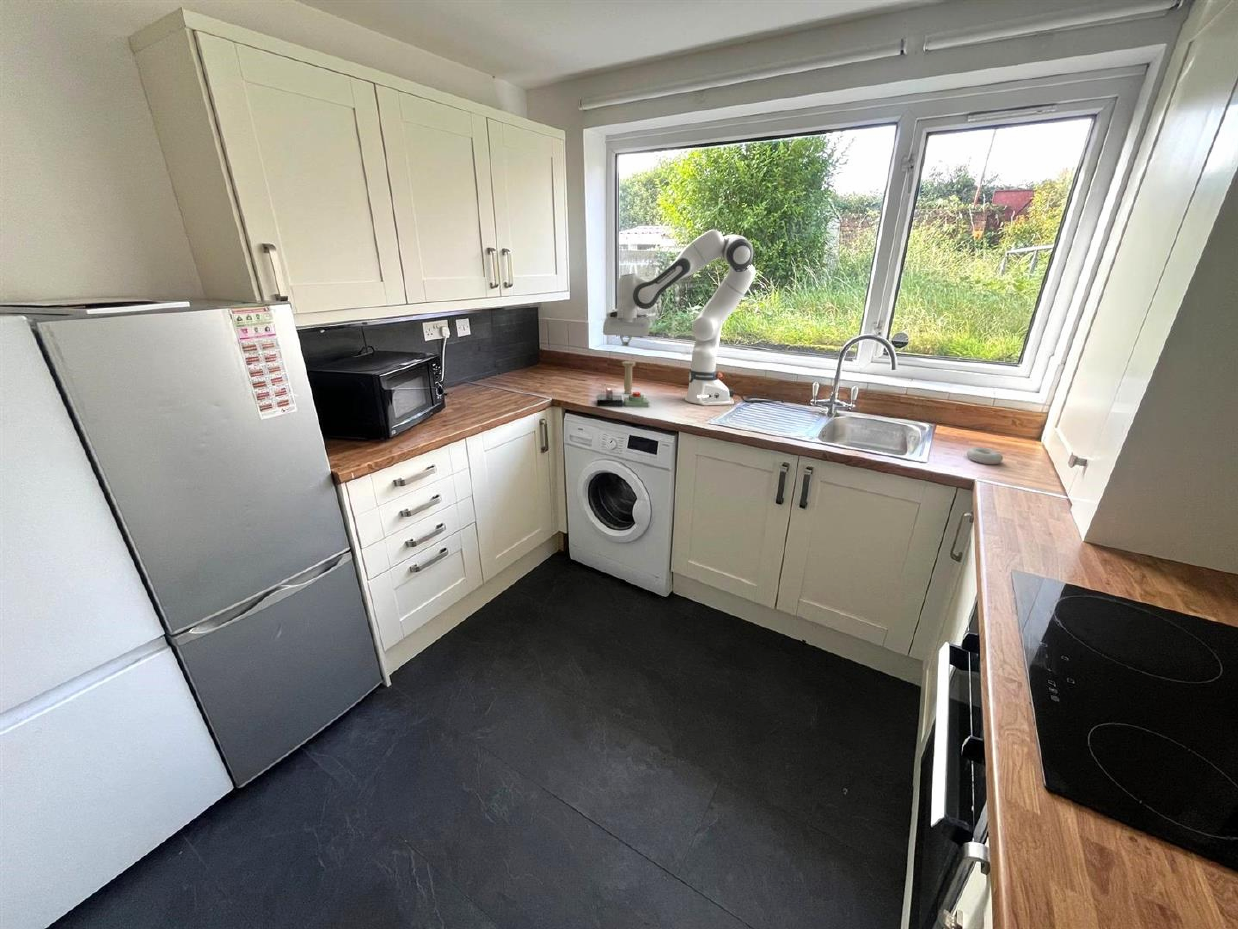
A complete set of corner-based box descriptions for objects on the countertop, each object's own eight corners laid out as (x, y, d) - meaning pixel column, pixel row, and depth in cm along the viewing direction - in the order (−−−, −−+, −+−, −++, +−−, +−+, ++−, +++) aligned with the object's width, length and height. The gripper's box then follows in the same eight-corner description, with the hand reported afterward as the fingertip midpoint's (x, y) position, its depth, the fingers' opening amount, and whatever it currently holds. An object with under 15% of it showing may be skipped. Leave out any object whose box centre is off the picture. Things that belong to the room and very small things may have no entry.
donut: (987, 467, 162) (1008, 464, 165) (990, 457, 160) (1011, 454, 163) (958, 457, 170) (979, 454, 173) (961, 447, 169) (982, 444, 172)
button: (640, 395, 222) (640, 391, 222) (640, 397, 219) (641, 393, 218) (631, 395, 222) (632, 391, 221) (632, 397, 219) (632, 393, 218)
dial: (606, 395, 222) (606, 387, 221) (609, 395, 223) (609, 387, 221) (608, 398, 217) (609, 390, 215) (612, 398, 217) (612, 390, 216)
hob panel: (620, 401, 226) (620, 394, 225) (622, 407, 216) (622, 400, 215) (596, 400, 225) (596, 394, 224) (597, 406, 216) (597, 399, 215)
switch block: (646, 402, 226) (646, 393, 224) (648, 406, 218) (648, 398, 217) (624, 402, 225) (624, 393, 224) (625, 406, 218) (625, 397, 216)
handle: (635, 394, 240) (637, 362, 235) (623, 394, 238) (624, 363, 232) (631, 391, 244) (633, 361, 239) (619, 392, 242) (620, 361, 237)
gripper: (649, 313, 219) (647, 345, 224) (603, 312, 217) (602, 344, 223) (651, 314, 213) (649, 347, 219) (603, 313, 212) (603, 346, 217)
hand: (625, 345), depth 221 cm, fingers closed
